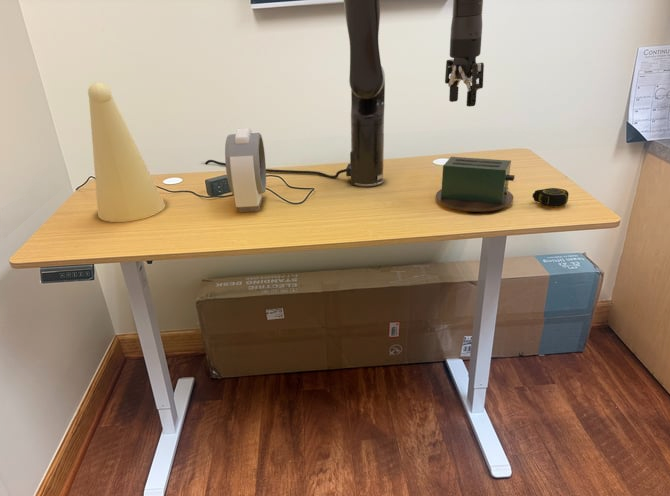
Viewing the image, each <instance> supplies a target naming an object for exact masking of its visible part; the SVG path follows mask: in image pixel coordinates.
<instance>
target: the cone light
mask: <svg viewBox="0 0 670 496" xmlns="http://www.w3.org/2000/svg"><path fill="white" fill-rule="evenodd" d="M87 95H88V103H89V114H90V115H89V116H90V128H91V129H90V130H91V141H92V142H91V144H92V152H93V153H92V156H93V167H94V180H95V191H96V192H95V193H96V194H95V195H96V205H97V217H98V218H99V219H100V220H102V221H104V222H111V223H126V222H133V221H138V220H139V221H140V220H143V219H147V218H149V217H152V216H155V215H157V214H159V213H160V212H162V211H163V210H164V209H165V207H166V203H165V201H164V200H163V199H164V198H163V197H162V195H161V193H160V191H159V190H158V189H159V188H158V187H157V185H156V183H155V181H154V179H153V177H152V175H151V173H150V170H149V169H148V167H147V164H146V163H145V161H144V159H143V156H142V155H141V152H140V150H139V148H138V146H137V144H136V142H135V140H134V138H133V136H132V134H131V132H130V130H129V128H128V126H127V124H126V122H125V120H124V118H123V115H122V114H121V112H120V110H119V107H118V105H117V103H116V101H115V99H114V97H113V95H112V91H111V89H110V88H109V86H108V85H107V84H105V83H104V82H101V81H100V82H97V81H96V82H93V83H92V84H91V85H89V87H88V90H87Z"/></svg>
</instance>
